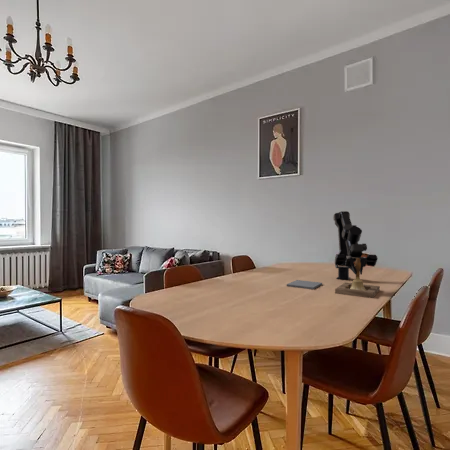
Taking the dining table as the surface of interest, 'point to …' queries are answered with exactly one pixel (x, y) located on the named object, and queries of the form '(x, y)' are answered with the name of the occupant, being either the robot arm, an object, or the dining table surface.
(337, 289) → the walnut well board
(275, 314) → the dining table surface
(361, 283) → the hand bell
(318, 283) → the grey rubber mat
